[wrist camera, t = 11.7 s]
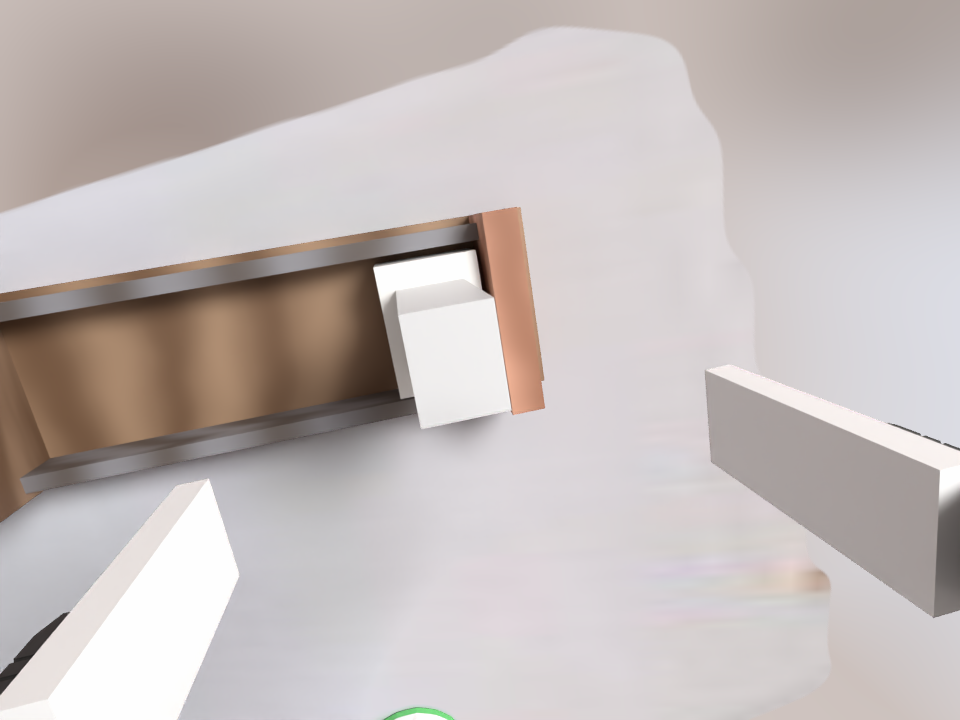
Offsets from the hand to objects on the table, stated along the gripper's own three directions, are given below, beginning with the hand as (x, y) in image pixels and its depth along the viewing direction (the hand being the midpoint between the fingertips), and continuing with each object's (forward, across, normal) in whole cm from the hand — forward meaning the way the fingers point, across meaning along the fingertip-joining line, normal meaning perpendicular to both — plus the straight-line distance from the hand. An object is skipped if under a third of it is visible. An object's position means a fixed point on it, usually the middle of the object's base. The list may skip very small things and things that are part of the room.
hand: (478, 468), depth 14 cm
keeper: (+23, -1, 0) cm, 23 cm away
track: (+25, +10, -1) cm, 27 cm away
